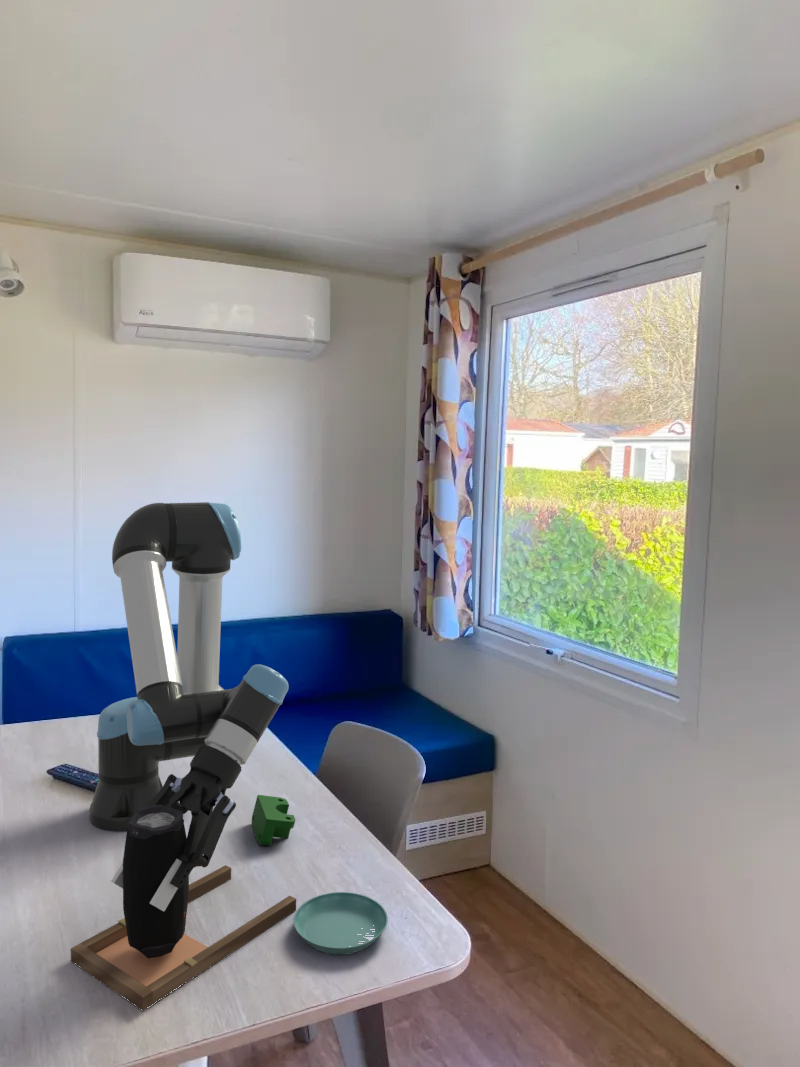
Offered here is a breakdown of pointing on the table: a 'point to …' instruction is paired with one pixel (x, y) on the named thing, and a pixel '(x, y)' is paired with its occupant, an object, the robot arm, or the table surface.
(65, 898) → the table surface
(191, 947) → the flat panel
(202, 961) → the rail track
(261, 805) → the clamp
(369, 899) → the saucer
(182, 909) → the portable speaker
